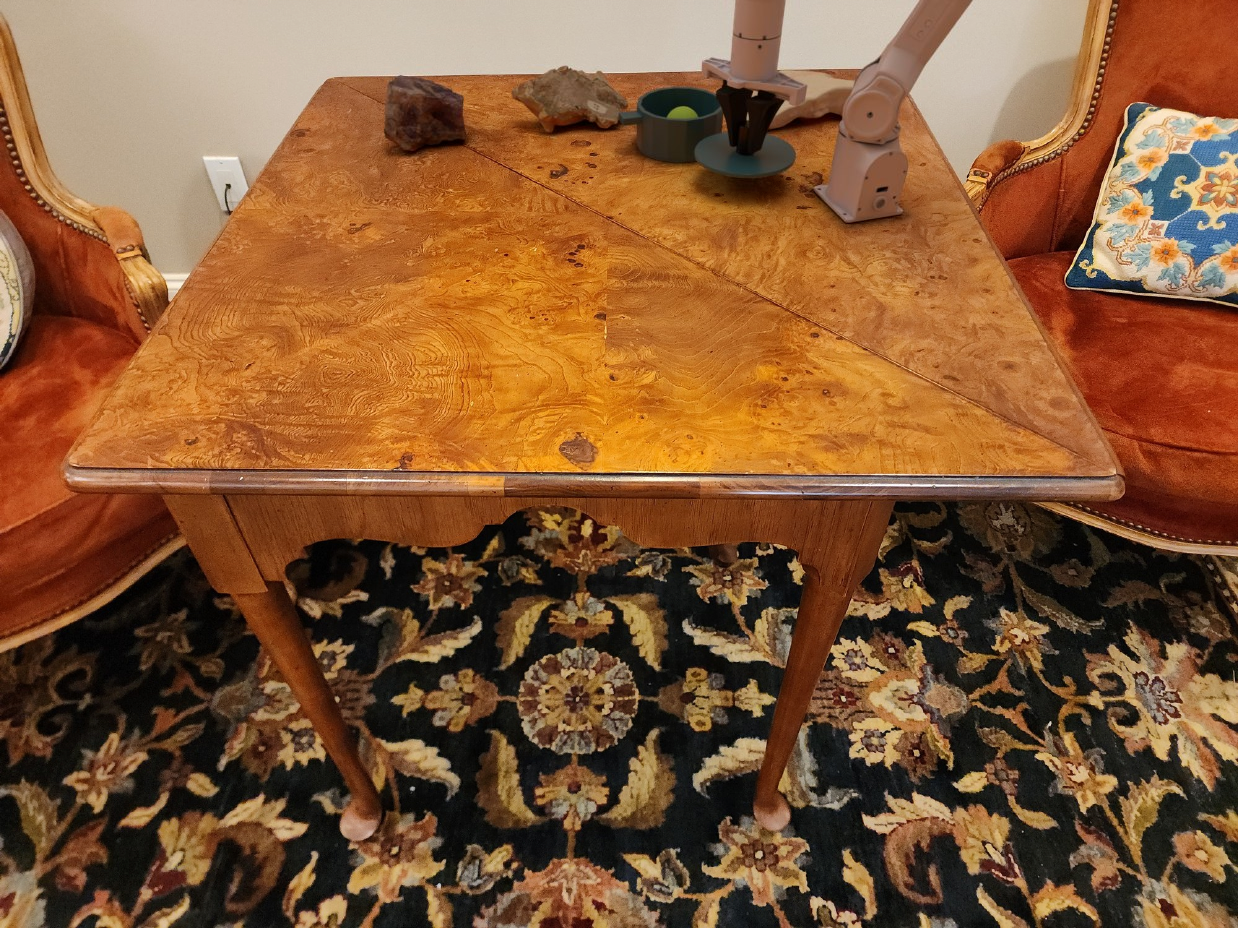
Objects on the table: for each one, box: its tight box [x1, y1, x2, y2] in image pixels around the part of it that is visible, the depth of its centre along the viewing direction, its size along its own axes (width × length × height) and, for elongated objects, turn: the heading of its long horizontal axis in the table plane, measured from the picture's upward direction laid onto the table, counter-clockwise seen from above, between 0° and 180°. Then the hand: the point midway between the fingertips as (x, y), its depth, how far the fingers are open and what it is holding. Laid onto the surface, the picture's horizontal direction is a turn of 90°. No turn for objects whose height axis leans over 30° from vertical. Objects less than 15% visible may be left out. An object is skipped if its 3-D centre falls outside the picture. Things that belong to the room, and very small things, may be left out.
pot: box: [618, 86, 724, 164], centre depth 109 cm, size 12×18×6 cm
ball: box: [667, 106, 698, 119], centre depth 109 cm, size 5×5×5 cm
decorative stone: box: [747, 69, 855, 130], centre depth 118 cm, size 21×5×15 cm
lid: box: [694, 120, 797, 179], centre depth 98 cm, size 13×13×5 cm
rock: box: [383, 74, 467, 152], centre depth 110 cm, size 12×9×10 cm
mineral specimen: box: [511, 65, 629, 134], centre depth 115 cm, size 13×7×15 cm
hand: (745, 147), depth 99 cm, fingers closed on lid, 2 cm apart
